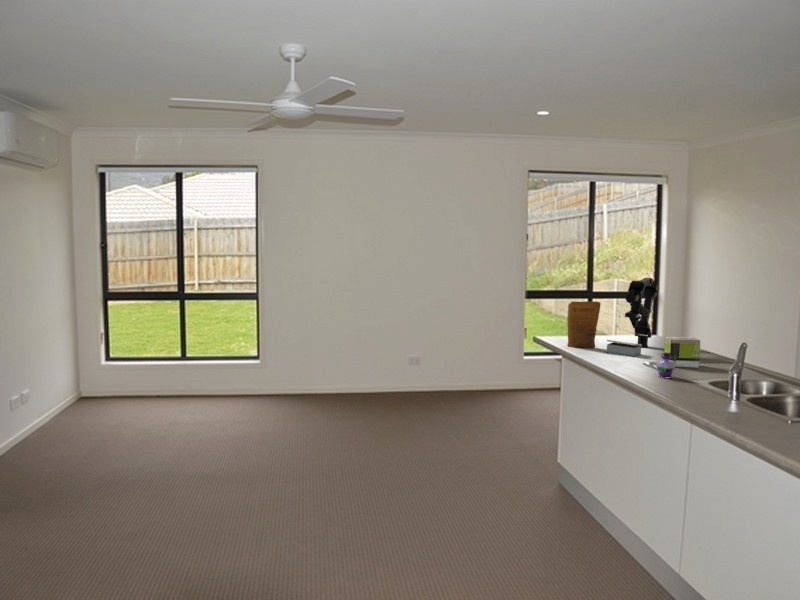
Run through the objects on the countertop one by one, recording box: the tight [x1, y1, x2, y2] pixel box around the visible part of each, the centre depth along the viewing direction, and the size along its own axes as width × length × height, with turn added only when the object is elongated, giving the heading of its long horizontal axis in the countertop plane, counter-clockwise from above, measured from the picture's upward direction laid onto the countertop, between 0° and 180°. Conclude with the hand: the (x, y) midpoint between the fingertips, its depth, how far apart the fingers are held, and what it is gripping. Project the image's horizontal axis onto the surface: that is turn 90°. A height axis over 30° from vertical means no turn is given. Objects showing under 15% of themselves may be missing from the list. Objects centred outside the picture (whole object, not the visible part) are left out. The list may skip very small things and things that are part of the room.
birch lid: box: [606, 339, 642, 346], centre depth 361 cm, size 10×16×1 cm, turn 51°
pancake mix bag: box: [566, 300, 601, 349], centre depth 377 cm, size 7×19×28 cm, turn 83°
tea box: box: [663, 336, 701, 369], centre depth 332 cm, size 15×10×15 cm
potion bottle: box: [656, 351, 676, 378], centre depth 305 cm, size 9×9×12 cm
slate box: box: [606, 342, 642, 358], centre depth 362 cm, size 10×16×5 cm, turn 51°
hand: (634, 328), depth 373 cm, fingers closed
